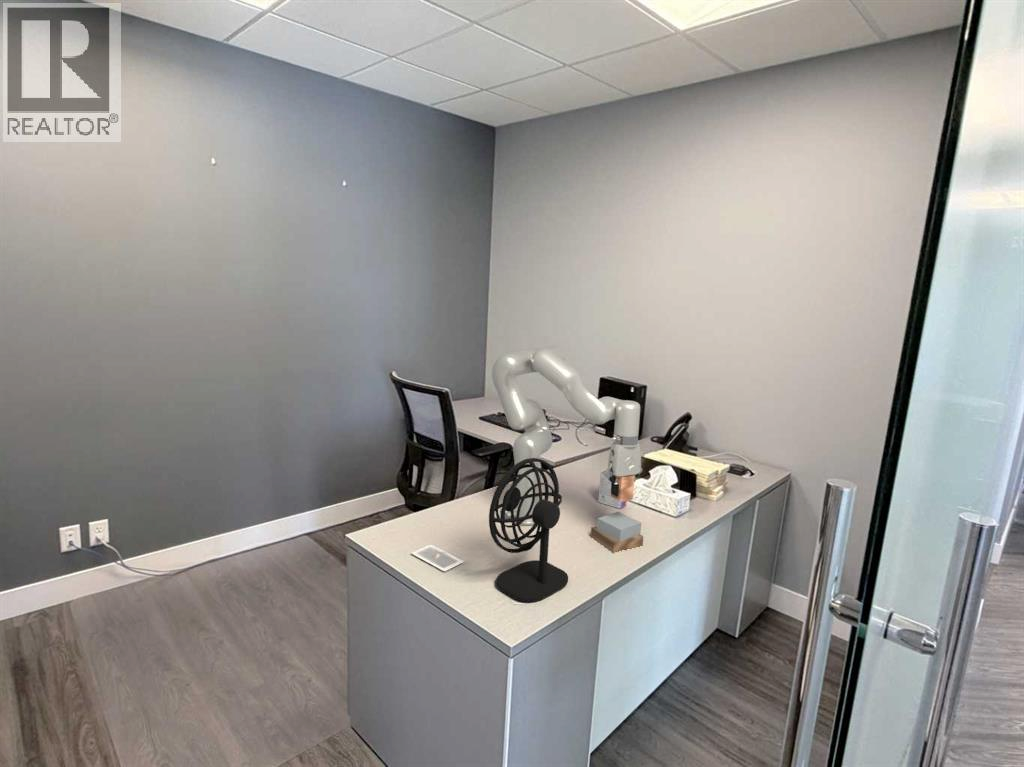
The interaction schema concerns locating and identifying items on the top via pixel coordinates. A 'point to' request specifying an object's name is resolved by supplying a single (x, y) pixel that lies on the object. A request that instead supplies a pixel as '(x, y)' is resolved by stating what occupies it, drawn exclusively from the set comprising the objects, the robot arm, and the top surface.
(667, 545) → the top surface
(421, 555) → the touchpad
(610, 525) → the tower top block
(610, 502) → the ink cartridge box
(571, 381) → the robot arm
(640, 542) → the tower base block
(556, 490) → the desk fan
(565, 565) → the top surface
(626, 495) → the terracotta block
